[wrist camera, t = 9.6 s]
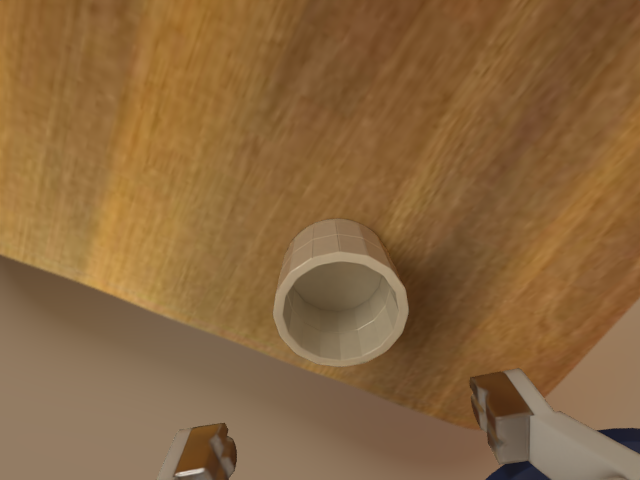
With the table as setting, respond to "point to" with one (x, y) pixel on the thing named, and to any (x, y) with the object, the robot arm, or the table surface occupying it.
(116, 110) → the table surface
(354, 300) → the beige cup
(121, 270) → the table surface
